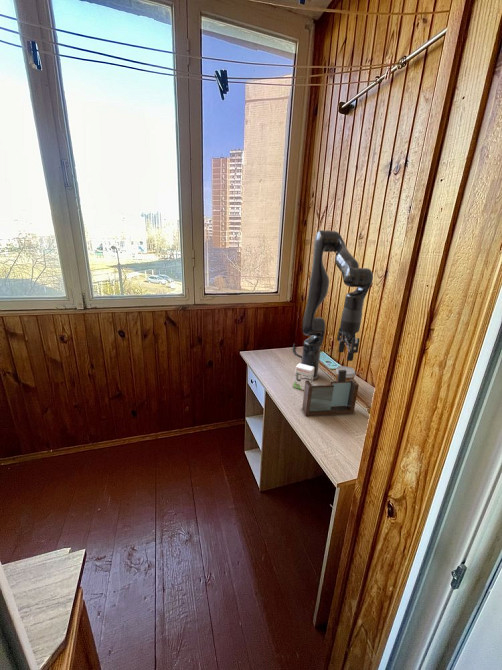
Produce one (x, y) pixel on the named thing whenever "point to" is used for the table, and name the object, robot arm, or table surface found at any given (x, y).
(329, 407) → the window frame
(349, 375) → the disposable coffee cup
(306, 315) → the robot arm
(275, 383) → the table surface
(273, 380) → the table surface
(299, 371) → the ink box
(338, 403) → the sliding pane
